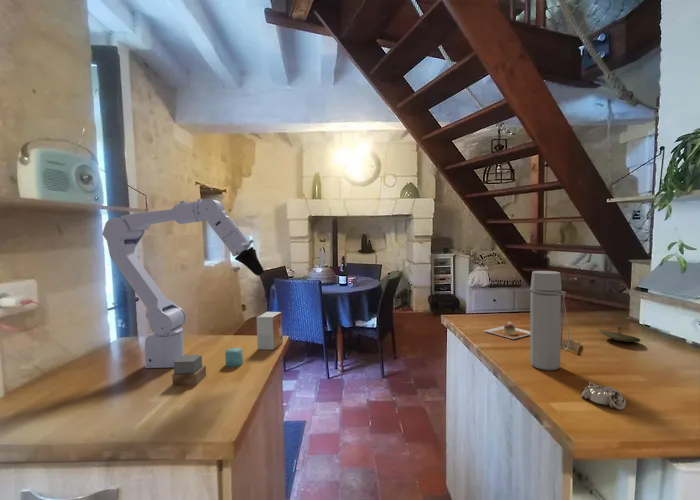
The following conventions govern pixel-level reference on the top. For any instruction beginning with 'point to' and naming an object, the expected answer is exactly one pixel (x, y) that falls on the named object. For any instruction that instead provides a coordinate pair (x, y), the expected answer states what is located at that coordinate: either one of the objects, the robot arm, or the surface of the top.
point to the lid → (620, 336)
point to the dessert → (508, 330)
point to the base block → (189, 378)
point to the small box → (269, 330)
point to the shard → (571, 346)
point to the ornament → (604, 396)
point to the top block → (187, 364)
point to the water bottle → (546, 320)
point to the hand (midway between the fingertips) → (260, 273)
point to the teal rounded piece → (234, 357)
